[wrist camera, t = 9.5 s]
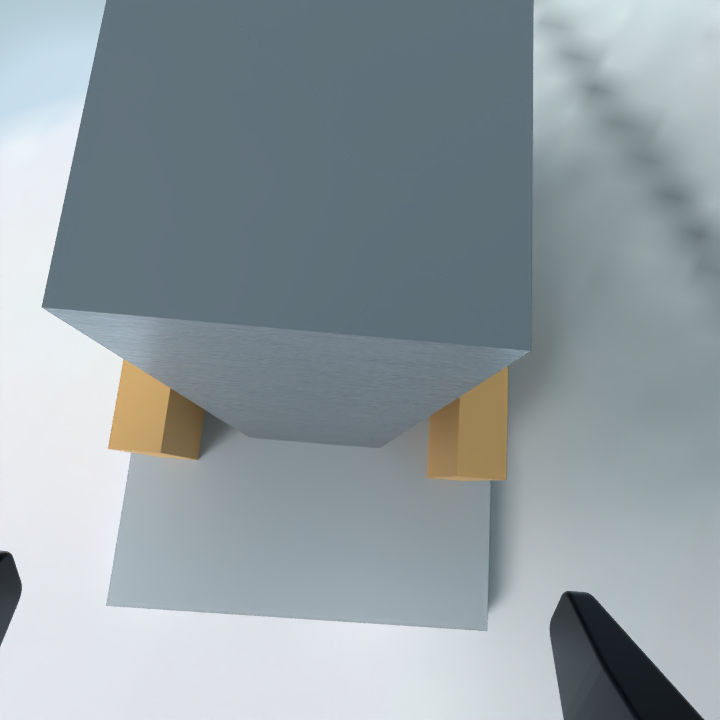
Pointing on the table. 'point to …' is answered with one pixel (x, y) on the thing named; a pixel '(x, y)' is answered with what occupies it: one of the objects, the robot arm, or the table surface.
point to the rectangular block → (305, 207)
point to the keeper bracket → (307, 514)
